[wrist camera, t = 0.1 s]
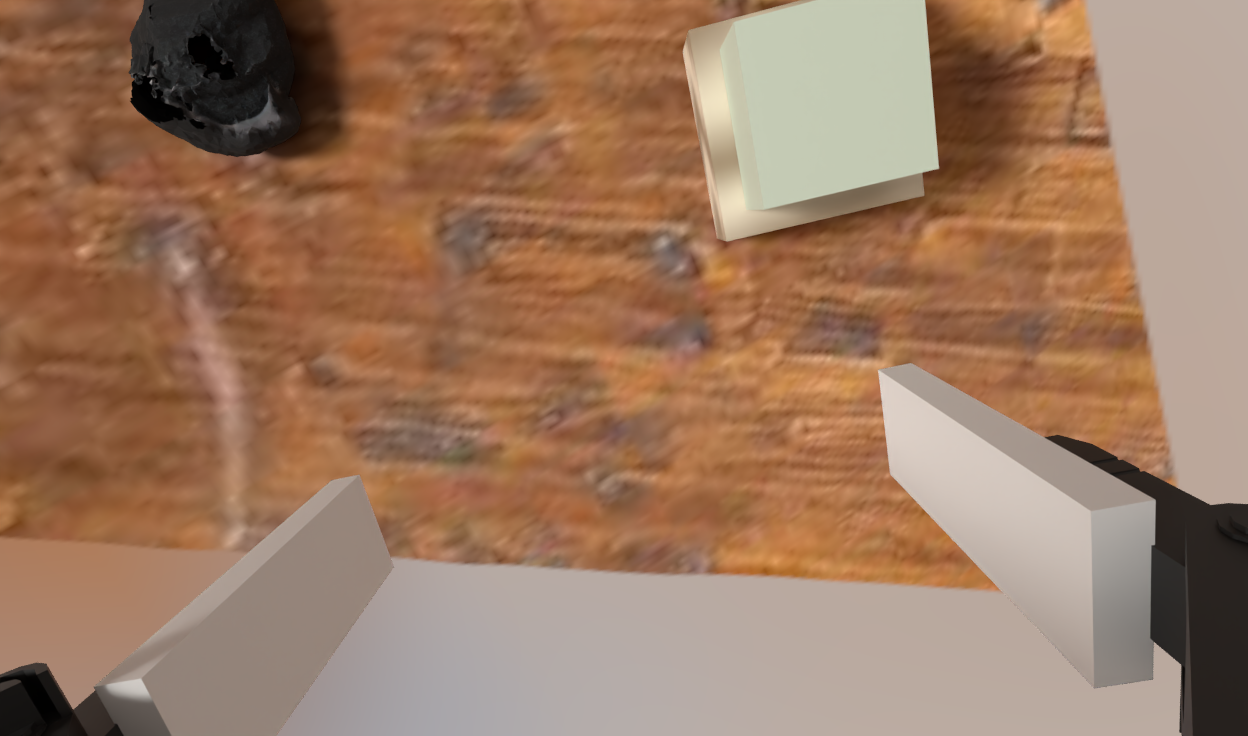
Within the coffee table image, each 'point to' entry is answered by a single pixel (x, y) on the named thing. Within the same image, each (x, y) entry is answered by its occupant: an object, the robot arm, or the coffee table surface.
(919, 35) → the tower top
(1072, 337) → the coffee table surface
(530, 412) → the coffee table surface
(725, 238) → the tower base
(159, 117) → the rock
